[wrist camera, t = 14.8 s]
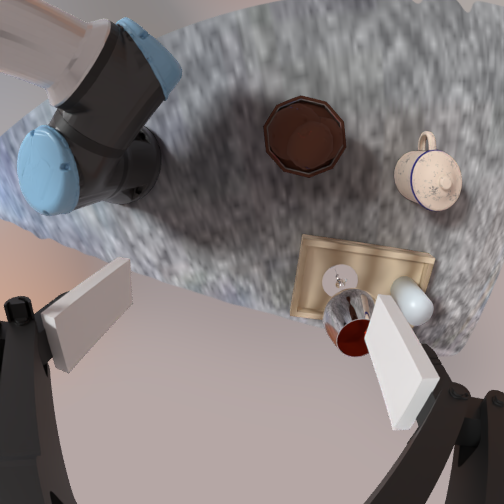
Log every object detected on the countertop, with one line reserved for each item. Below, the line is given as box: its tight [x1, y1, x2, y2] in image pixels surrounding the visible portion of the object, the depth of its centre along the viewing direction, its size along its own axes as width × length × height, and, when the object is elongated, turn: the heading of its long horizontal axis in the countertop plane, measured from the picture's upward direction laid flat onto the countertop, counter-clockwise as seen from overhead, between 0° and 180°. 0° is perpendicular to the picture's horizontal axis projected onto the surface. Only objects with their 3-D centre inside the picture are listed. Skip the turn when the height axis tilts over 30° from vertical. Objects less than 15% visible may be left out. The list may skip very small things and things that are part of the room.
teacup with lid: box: [394, 131, 462, 211], centre depth 39 cm, size 12×9×12 cm
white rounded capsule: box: [390, 276, 434, 326], centre depth 46 cm, size 5×5×9 cm
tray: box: [290, 234, 435, 328], centre depth 51 cm, size 24×14×3 cm, turn 84°
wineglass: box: [322, 264, 376, 357], centre depth 43 cm, size 8×8×18 cm
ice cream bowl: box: [263, 96, 346, 178], centre depth 39 cm, size 11×11×15 cm
